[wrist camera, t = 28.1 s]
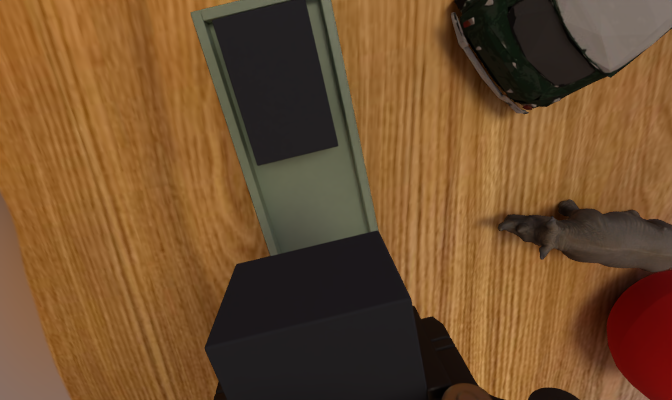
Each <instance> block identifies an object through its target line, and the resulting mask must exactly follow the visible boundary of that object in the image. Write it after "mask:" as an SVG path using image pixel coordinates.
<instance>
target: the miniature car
mask: <svg viewBox="0 0 672 400" xmlns="http://www.w3.org/2000/svg"><path fill="white" fill-rule="evenodd" d="M455 3H456V5H457V6H458V8H459V9H460V11H461V12H462V15H461V17H460V23H459V21H458V18H457V16H456V13H454V12H453V13H452V14H451V18H452V22H453V26H454V29H455V32H456V36H457V39H458V43H459V45H460V47H461V48H463V50H464V51H465V53H466V54H467V56H468V58H469V59H470V61H471V62H472V64H473V65H474V67H475V69H476V70H477V72H478V73H479V75H480V76H481V78H482V79H483V80H484V81H485V83H486V84H487V85H488V86H489V87H490V88H491V90H492V91H493V92H494V93H495V94H496V96H497V97H498V98H499V99H501V100H503V101H505V102H506V103H507V104H508V105H509V106H510V107H511V108H512V109H513V110H514V111H515V112H516V113H523V114H527V113H529V112H526V110H532V108H536V107H539V106H540V107H547V106H549V105H551V104H553V103H554V102H557V101H560V99H562V98H564V97H565V96H567V95H569V94H571V93H573V92H575V91H577V90H579V89H581V88H583V87H585V86H587V85H589V84H591V83H593V82H595V81H598V80H600V79H602V78H605V77H607V76H608V77H612V76H613V75H615V74H616V73H617V72H619V71H620V70H621V69H623V68H624V67H625V66H627V65H628V64H629V63H630V62H631V61H633V60H634V59H635V58H636V57H638V56H639V55H640V54H641V53H642V52H644V51H645V50H646V49H647V48H648V47H650V46H651V45H652V44H653V43H655V42H656V41H657V40H658V39H659V38H661V37H662V36H663V35H664V34H666V33H667V32H668V31H669V30H670V29H672V0H455ZM461 12H460V13H461ZM466 40H467V41H468V43H469V44H470V46H471V47H472V49H473V50H474V52H475V53H476V55H477V56H478V58H479V59H480V60H481V62H482V63H483V65H484V66H485V68H486V69H487V71H488V72H489V74H490V75H491V77H492V78H493V80H494V81H495V82H496V83H497V84H498V85H499V86H500V87H501V88H502V89H503V90H504V91H505V92H506V94H507V95H508V97H509V98H510V99H512V100H513V101H514V102H517V103H520V104H522V105H523V106H524V107H523V108H524V109H526V110H521V109H520V108H519V107H518V106H516V105H515V104H514V103H513V102H512V101H511V100H510V99H509V98H507V97H506V96H505V95H503V94H502V93H501V91H500V90H499V89H498V88H497V87H496V85H495V84H494V83H493V82H492V81H491V79H490V78H489V77H488V75H487V74H486V72H485V71H484V69H483V68H482V66H481V65H480V63H479V62H478V60H477V59H476V57H475V56H474V54H473V52H472V51H471V49H470V48H469V46H468V43H467V41H466Z"/></svg>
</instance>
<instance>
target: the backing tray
mask: <svg viewBox="0 0 672 400" xmlns="http://www.w3.org/2000/svg"><path fill="white" fill-rule="evenodd" d="M288 1H292V0H240V1H235V2H231V3H227V4H223V5H219V6H215V7H211V8H206V9H202V10H198V11H194V12H191V16H192V20H193V23H194V26H195V29H196V32H197V35H198V38H199V41H200V44H201V47H202V50H203V53H204V56H205V59H206V62H207V65H208V68H209V71H210V74H211V77H212V80H213V83H214V86H215V89H216V92H217V95H218V98H219V101H220V105H221V108H222V111H223V114H224V117H225V120H226V123H227V126H228V129H229V132H230V135H231V138H232V141H233V144H234V147H235V150H236V153H237V156H238V159H239V162H240V165H241V168H242V171H243V174H244V177H245V180H246V183H247V187H248V190H249V193H250V196H251V199H252V202H253V205H254V208H255V211H256V214H257V217H258V220H259V223H260V226H261V229H262V232H263V235H264V238H265V241H266V244H267V247H268V250H269V253H270V256H273V255H277V254H281V253H285V252H289V251H294V250H298V249H302V248H306V247H310V246H314V245H318V244H323V243H327V242H331V241H335V240H339V239H343V238H348V237H352V236H356V235H360V234H364V233H368V232H372V231H378V227H377V222H376V217H375V212H374V207H373V202H372V198H371V193H370V188H369V183H368V178H367V173H366V168H365V164H364V159H363V154H362V149H361V144H360V139H359V134H358V129H357V125H356V120H355V115H354V110H353V105H352V100H351V95H350V91H349V86H348V81H347V76H346V71H345V66H344V61H343V57H342V52H341V47H340V42H339V37H338V32H337V27H336V23H335V18H334V13H333V8H332V3H331V0H306V4H307V9H308V13H309V17H310V22H311V26H312V31H313V35H314V39H315V44H316V48H317V52H318V57H319V61H320V66H321V70H322V74H323V79H324V83H325V88H326V92H327V96H328V101H329V105H330V110H331V114H332V118H333V123H334V127H335V131H336V136H337V140H338V146H337V147H333V148H329V149H325V150H321V151H317V152H313V153H309V154H305V155H300V156H296V157H292V158H288V159H284V160H280V161H276V162H272V163H268V164H264V165H260V166H257V163H256V160H255V157H254V154H253V151H252V148H251V144H250V141H249V138H248V135H247V132H246V128H245V125H244V122H243V119H242V116H241V112H240V109H239V106H238V103H237V100H236V97H235V93H234V90H233V87H232V84H231V81H230V77H229V74H228V71H227V68H226V65H225V61H224V58H223V55H222V52H221V49H220V46H219V42H218V39H217V36H216V33H215V30H214V26H213V23H212V20H214V19H218V18H222V17H226V16H230V15H235V14H239V13H243V12H247V11H251V10H255V9H259V8H263V7H268V6H272V5H276V4H280V3H284V2H288Z"/></svg>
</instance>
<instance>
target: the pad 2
mask: <svg viewBox="0 0 672 400" xmlns="http://www.w3.org/2000/svg"><path fill="white" fill-rule="evenodd" d="M205 351H206V353H207V356H208V358H209V360H210V362H211V365H212V367H213V369H214V371H215V374H216V376H217V378H218V380H219V383H220V385H221V387H222V389H223V392H224V394H225V396H226V398H227V400H428V395H427V390H426V389H427V384H426V379H425V373H424V368H423V362H422V356H421V351H420V345H419V340H418V334H417V329H416V323H415V318H414V312H413V306H412V301H411V298H410V296H409V293H408V291H407V289H406V287H405V285H404V283H403V281H402V279H401V277H400V275H399V273H398V271H397V268H396V266H395V264H394V262H393V260H392V258H391V256H390V254H389V252H388V250H387V248H386V245H385V243H384V241H383V239H382V237H381V235H380V233H379V231H372V232H368V233H364V234H360V235H356V236H352V237H348V238H343V239H339V240H335V241H331V242H327V243H323V244H318V245H314V246H310V247H306V248H302V249H298V250H294V251H289V252H285V253H281V254H277V255H273V256H269V257H265V258H260V259H256V260H252V261H248V262H244V263H240V264H237V265H236V266H235V269H234V271H233V274H232V277H231V279H230V282H229V285H228V287H227V290H226V293H225V295H224V298H223V300H222V303H221V306H220V308H219V311H218V314H217V316H216V319H215V322H214V324H213V327H212V330H211V332H210V335H209V337H208V340H207V343H206V345H205Z"/></svg>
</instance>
